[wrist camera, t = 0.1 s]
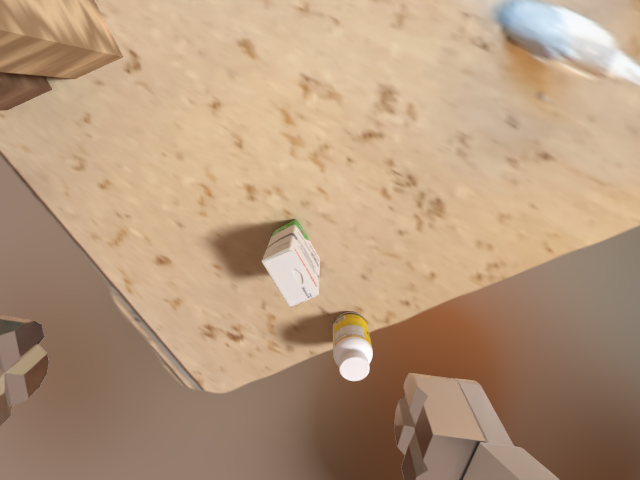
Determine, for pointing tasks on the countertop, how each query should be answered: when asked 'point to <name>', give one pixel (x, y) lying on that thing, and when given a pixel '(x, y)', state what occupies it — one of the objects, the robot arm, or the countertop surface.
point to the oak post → (54, 38)
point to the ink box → (293, 263)
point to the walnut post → (20, 88)
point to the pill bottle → (352, 345)
